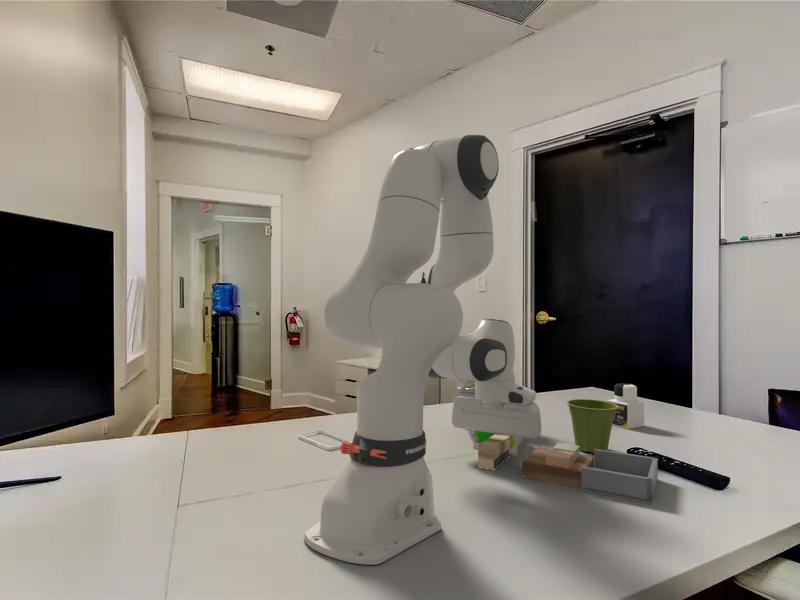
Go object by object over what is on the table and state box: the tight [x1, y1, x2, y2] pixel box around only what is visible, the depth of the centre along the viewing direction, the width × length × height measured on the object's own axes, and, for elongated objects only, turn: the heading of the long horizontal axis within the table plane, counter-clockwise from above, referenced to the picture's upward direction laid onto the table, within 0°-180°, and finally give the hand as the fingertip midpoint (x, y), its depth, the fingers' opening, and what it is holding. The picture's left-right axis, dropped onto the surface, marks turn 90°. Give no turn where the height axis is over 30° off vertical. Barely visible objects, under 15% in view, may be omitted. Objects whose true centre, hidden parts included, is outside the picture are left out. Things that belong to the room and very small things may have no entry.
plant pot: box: [566, 398, 619, 454], centre depth 118 cm, size 12×12×11 cm
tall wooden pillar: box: [477, 434, 511, 471], centre depth 109 cm, size 11×4×5 cm, turn 148°
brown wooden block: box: [521, 446, 594, 489], centre depth 102 cm, size 12×12×3 cm
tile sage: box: [552, 442, 581, 461], centre depth 104 cm, size 4×4×2 cm
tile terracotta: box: [546, 448, 574, 469], centre depth 99 cm, size 4×4×2 cm
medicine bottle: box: [607, 382, 645, 430], centre depth 142 cm, size 7×7×12 cm
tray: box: [581, 449, 659, 505], centre depth 96 cm, size 14×12×4 cm
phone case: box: [297, 429, 353, 452], centre depth 125 cm, size 7×1×15 cm
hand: (494, 452), depth 109 cm, fingers open, 7 cm apart
